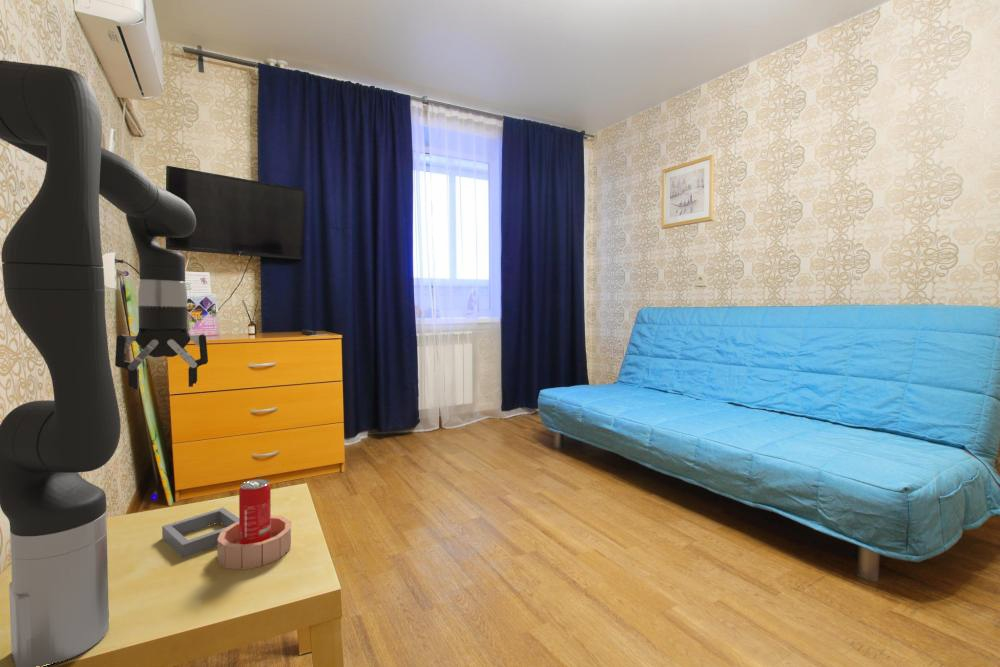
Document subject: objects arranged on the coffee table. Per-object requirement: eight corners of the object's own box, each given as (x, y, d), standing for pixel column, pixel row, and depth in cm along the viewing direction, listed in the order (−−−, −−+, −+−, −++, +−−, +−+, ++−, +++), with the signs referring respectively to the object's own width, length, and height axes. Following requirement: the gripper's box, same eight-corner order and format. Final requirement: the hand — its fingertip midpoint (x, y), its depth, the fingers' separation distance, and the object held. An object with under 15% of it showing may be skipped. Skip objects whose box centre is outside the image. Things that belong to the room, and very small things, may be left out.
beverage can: (246, 556, 81) (246, 491, 80) (234, 546, 84) (234, 484, 84) (275, 544, 85) (275, 483, 85) (262, 536, 88) (262, 476, 88)
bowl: (235, 577, 76) (235, 554, 76) (207, 553, 84) (207, 532, 83) (302, 548, 86) (302, 528, 86) (272, 528, 93) (272, 510, 93)
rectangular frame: (182, 558, 82) (182, 544, 82) (162, 538, 88) (162, 526, 88) (246, 534, 90) (246, 523, 90) (223, 518, 97) (223, 507, 97)
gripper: (111, 303, 79) (113, 394, 80) (207, 305, 87) (208, 388, 88) (118, 303, 85) (120, 387, 86) (207, 305, 93) (208, 382, 94)
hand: (164, 387), depth 87 cm, fingers open, 8 cm apart
